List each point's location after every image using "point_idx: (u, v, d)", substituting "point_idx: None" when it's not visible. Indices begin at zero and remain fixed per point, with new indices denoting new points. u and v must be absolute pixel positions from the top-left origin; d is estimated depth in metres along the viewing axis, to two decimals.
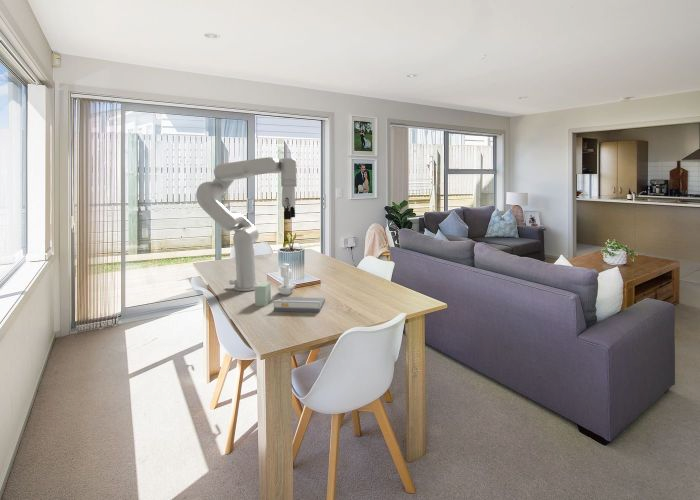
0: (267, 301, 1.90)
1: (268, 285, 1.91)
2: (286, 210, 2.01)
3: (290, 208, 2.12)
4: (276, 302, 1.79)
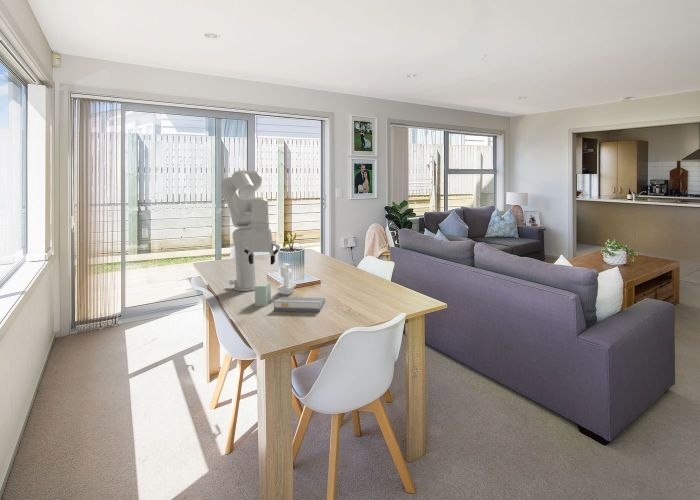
0: (267, 301, 1.90)
1: (268, 285, 1.91)
2: None
3: (251, 254, 1.87)
4: (276, 302, 1.79)
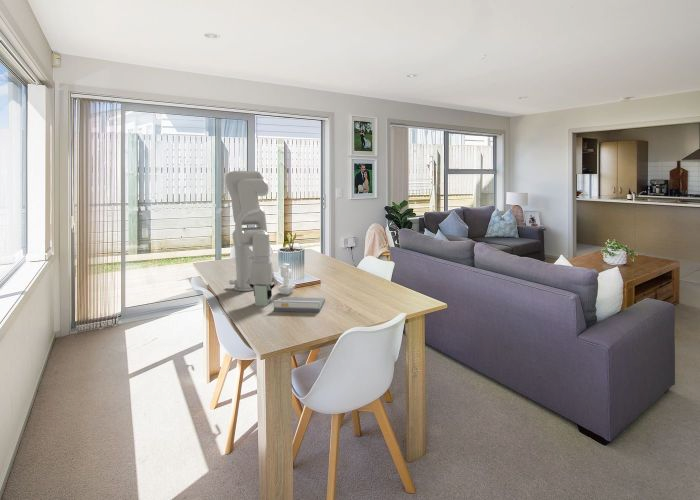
0: (267, 301, 1.90)
1: None
2: (271, 289, 1.90)
3: None
4: (276, 302, 1.79)
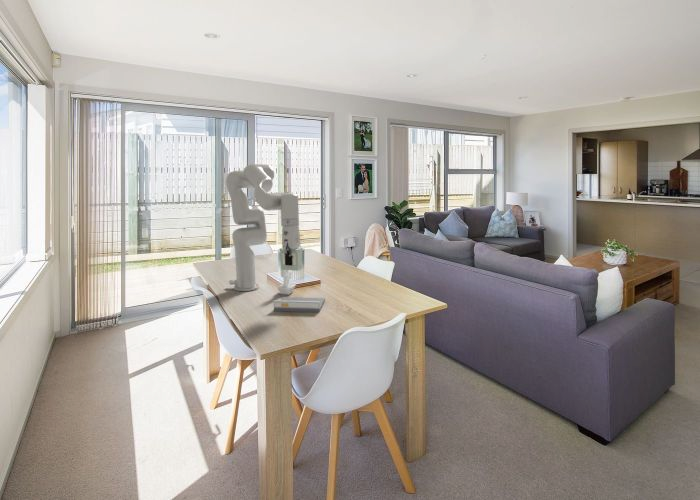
0: None
1: None
2: None
3: None
4: (276, 302, 1.79)
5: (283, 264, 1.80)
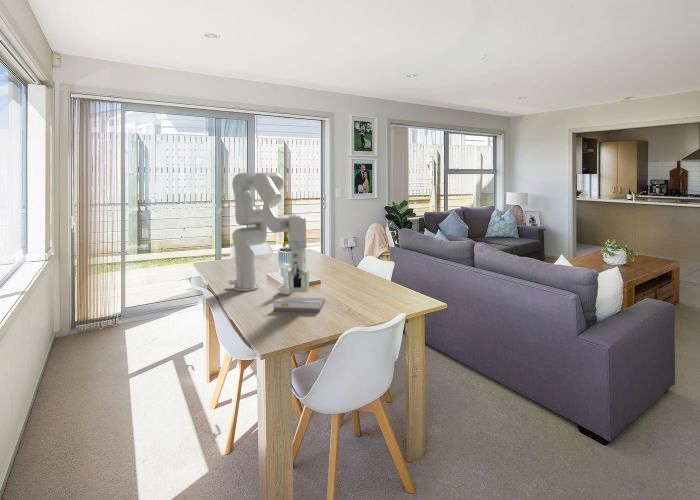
0: None
1: None
2: None
3: None
4: (276, 302, 1.79)
5: (291, 286, 1.80)
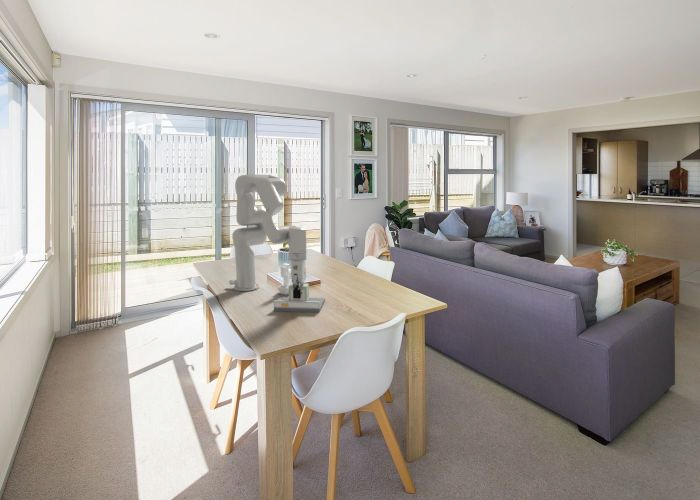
0: None
1: None
2: None
3: None
4: (276, 302, 1.79)
5: (291, 300, 1.82)
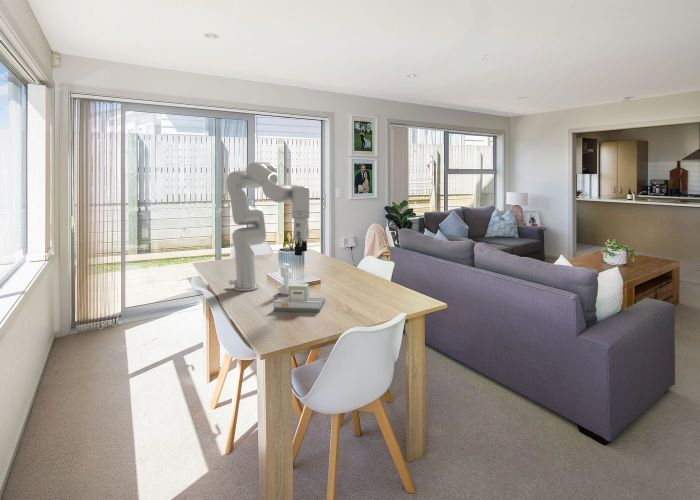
0: None
1: None
2: None
3: None
4: (276, 302, 1.79)
5: (291, 300, 1.82)
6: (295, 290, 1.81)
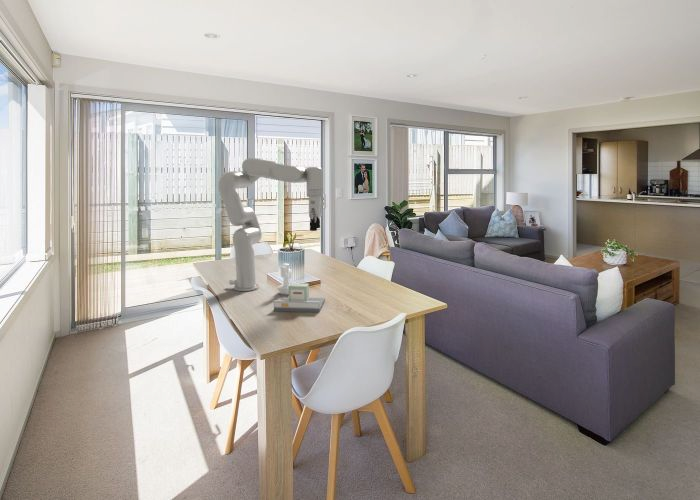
0: None
1: None
2: None
3: None
4: (276, 302, 1.79)
5: (291, 300, 1.82)
6: (295, 290, 1.81)
